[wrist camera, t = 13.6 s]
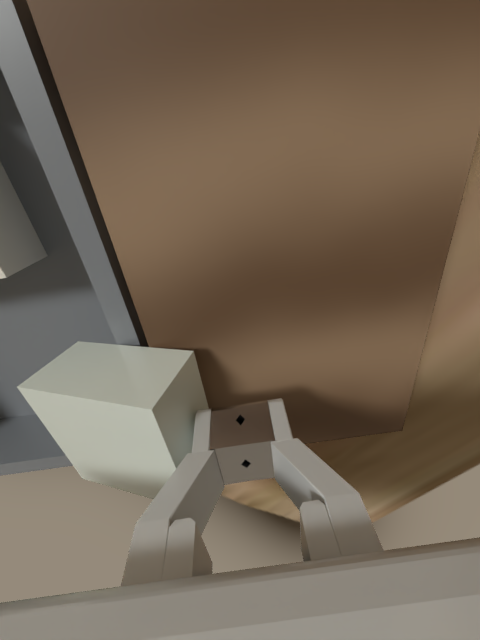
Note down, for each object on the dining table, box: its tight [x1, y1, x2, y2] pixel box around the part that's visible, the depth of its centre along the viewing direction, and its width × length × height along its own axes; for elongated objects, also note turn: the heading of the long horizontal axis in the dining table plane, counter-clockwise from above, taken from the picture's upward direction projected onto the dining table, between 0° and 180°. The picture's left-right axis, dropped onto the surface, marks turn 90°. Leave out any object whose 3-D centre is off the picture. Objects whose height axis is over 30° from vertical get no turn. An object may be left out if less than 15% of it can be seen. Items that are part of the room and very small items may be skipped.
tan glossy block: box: [27, 0, 480, 444], centre depth 11 cm, size 16×10×4 cm, turn 7°
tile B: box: [17, 341, 209, 499], centre depth 10 cm, size 5×5×2 cm
